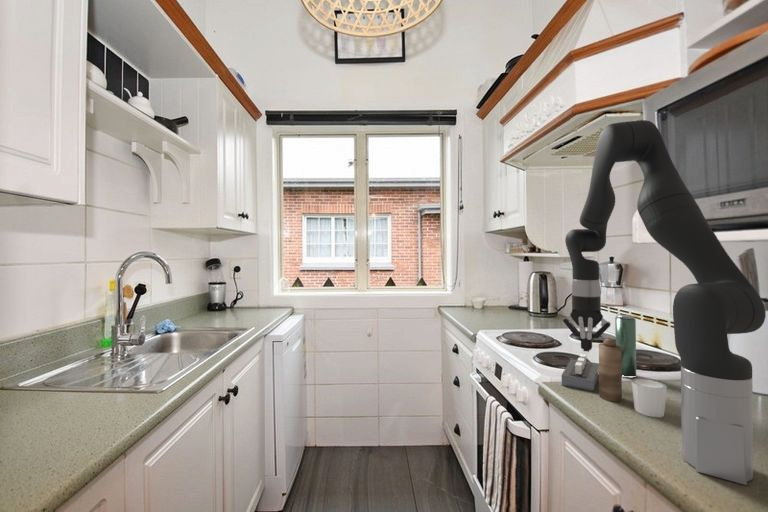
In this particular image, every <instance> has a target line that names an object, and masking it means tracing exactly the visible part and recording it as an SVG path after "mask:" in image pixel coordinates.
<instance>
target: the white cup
mask: <svg viewBox="0 0 768 512" xmlns="http://www.w3.org/2000/svg"><path fill="white" fill-rule="evenodd" d="M630 382H631V390H632V399H633V405H634V406H633V407H634V410H635V411H636V412H637V413H639V414H641V415H644V416H647V417H652V418H663V417H664V416H665V409H666V402H667V401H666V399H667V391H668V386H667V385H666V384H665V383H662V382H660V381H657V380H653V379H648V378H631V381H630Z"/></svg>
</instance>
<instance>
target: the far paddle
mask: <svg viewBox="0 0 768 512" xmlns="http://www.w3.org/2000/svg"><path fill="white" fill-rule="evenodd" d="M587 356H588V355H587V353H586V354H585V353H580V354H579V358H585V365H586V363H587V362H588V361H587Z"/></svg>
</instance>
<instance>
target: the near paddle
mask: <svg viewBox="0 0 768 512" xmlns="http://www.w3.org/2000/svg"><path fill="white" fill-rule="evenodd" d="M582 372H583V363H580V362H576V364H575V373H576V374H582Z"/></svg>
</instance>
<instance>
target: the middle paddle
mask: <svg viewBox="0 0 768 512" xmlns="http://www.w3.org/2000/svg"><path fill="white" fill-rule="evenodd" d="M576 360H577V362H580V363H583V370H584V367H585V358H580V357H578V358H577V359H576Z"/></svg>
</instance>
